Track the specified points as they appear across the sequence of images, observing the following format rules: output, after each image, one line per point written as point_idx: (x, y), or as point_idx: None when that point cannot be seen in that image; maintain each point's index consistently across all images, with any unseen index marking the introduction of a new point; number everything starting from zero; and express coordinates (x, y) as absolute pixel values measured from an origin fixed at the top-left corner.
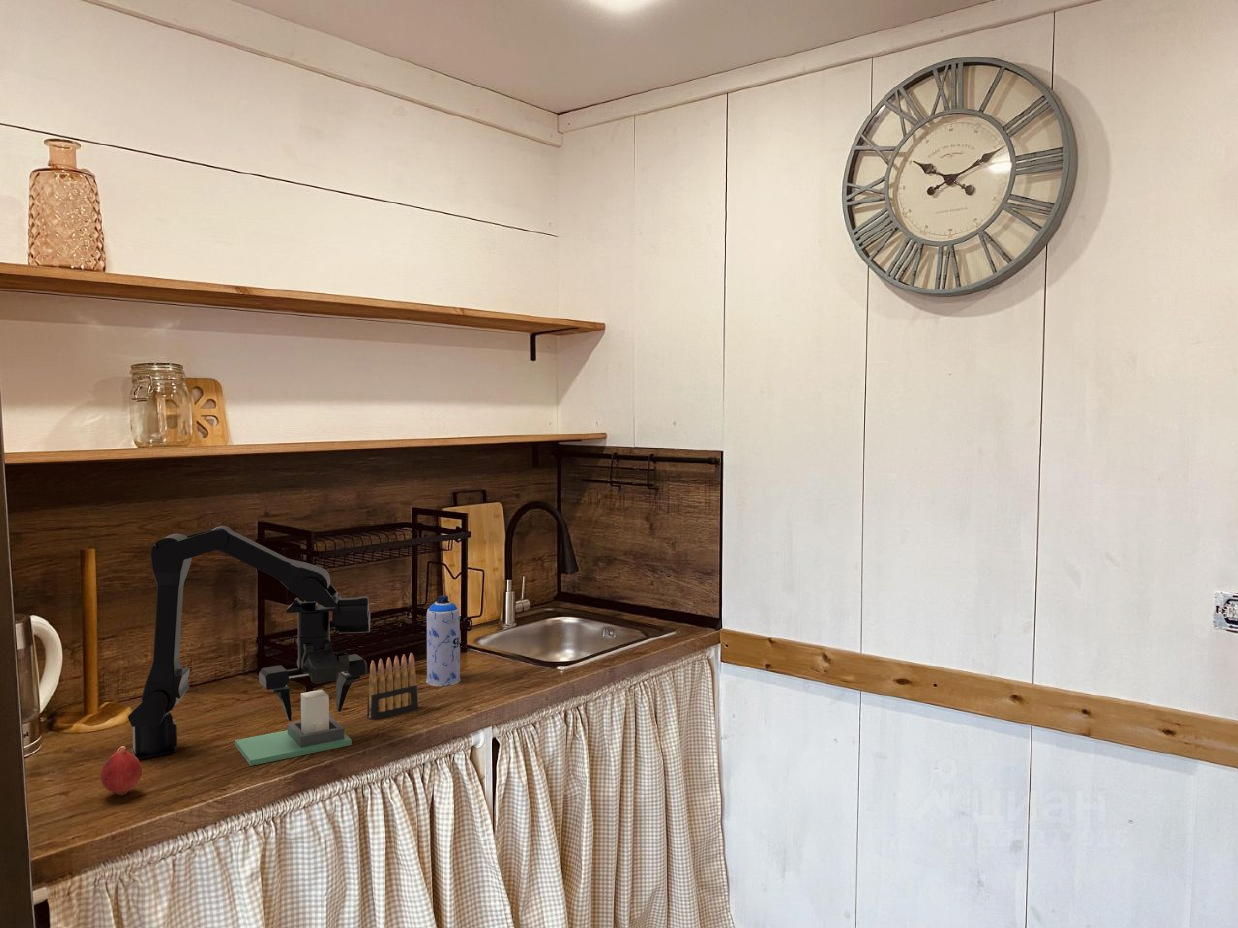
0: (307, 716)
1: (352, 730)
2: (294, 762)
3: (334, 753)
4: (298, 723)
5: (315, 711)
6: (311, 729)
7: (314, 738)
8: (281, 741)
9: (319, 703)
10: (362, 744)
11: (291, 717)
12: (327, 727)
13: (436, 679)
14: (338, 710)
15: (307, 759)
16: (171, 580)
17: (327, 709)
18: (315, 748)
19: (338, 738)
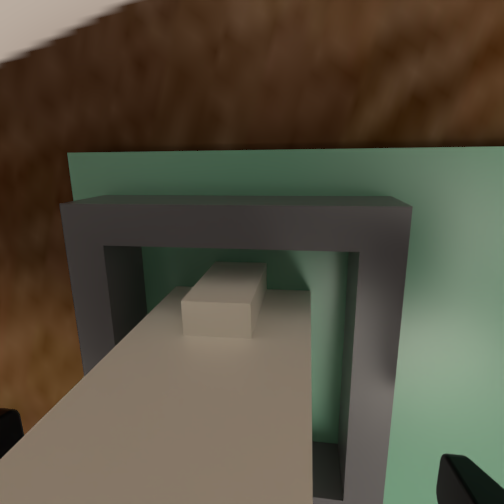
0: (308, 392)
1: (47, 362)
2: (487, 36)
3: (208, 62)
4: (313, 493)
5: (210, 410)
6: (278, 320)
7: (293, 201)
8: (451, 379)
9: (119, 483)
10: (33, 124)
11: (458, 474)
12: (162, 309)
13: None
14: (9, 420)
15: (390, 47)
16: None
17: (78, 397)
18: (303, 150)
19: (135, 196)
